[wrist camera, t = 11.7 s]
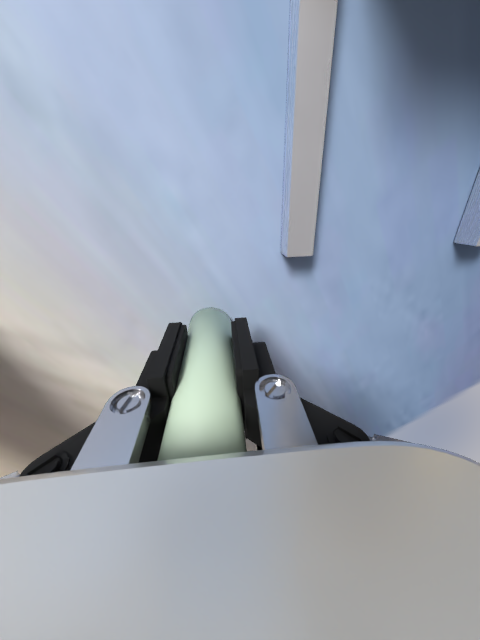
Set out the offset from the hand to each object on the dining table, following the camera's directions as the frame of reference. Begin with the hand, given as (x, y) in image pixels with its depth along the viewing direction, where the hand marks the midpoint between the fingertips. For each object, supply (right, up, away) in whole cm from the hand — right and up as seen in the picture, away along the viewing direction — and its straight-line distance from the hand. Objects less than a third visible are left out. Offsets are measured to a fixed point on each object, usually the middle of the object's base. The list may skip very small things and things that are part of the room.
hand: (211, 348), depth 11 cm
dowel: (0, +1, +2) cm, 2 cm away
